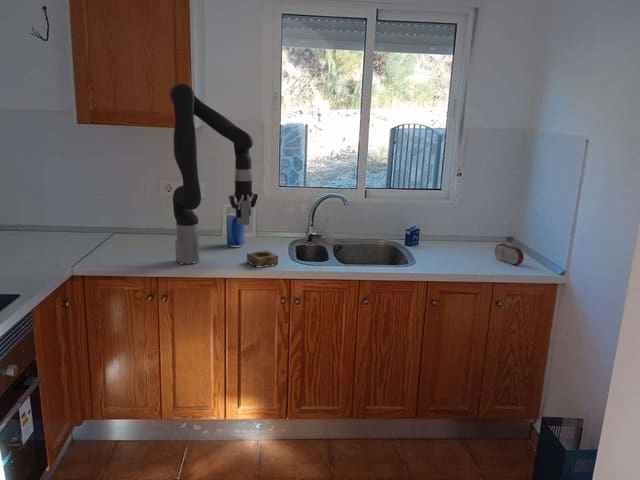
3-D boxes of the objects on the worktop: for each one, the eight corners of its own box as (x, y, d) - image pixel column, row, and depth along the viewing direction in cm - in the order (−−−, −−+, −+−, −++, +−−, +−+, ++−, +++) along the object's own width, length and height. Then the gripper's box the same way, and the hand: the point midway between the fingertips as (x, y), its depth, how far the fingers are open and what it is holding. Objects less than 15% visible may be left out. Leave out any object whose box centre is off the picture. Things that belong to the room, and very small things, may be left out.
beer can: (235, 249, 259) (235, 216, 255) (223, 246, 264) (222, 214, 260) (247, 245, 266) (247, 214, 262) (235, 242, 271) (235, 211, 267)
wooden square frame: (257, 267, 231) (257, 259, 230) (246, 262, 239) (246, 253, 238) (277, 264, 237) (277, 255, 236) (266, 258, 245) (266, 250, 244)
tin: (522, 266, 246) (525, 248, 244) (518, 267, 245) (520, 249, 242) (497, 258, 259) (499, 241, 257) (492, 258, 257) (494, 241, 255)
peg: (241, 225, 239) (241, 201, 237) (237, 223, 242) (237, 199, 240) (249, 224, 241) (249, 200, 239) (245, 222, 245) (245, 199, 242)
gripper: (232, 181, 230) (232, 220, 234) (261, 179, 238) (261, 217, 242) (224, 178, 236) (225, 217, 240) (253, 177, 244) (253, 214, 248)
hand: (243, 217), depth 241 cm, fingers closed on peg, 4 cm apart
